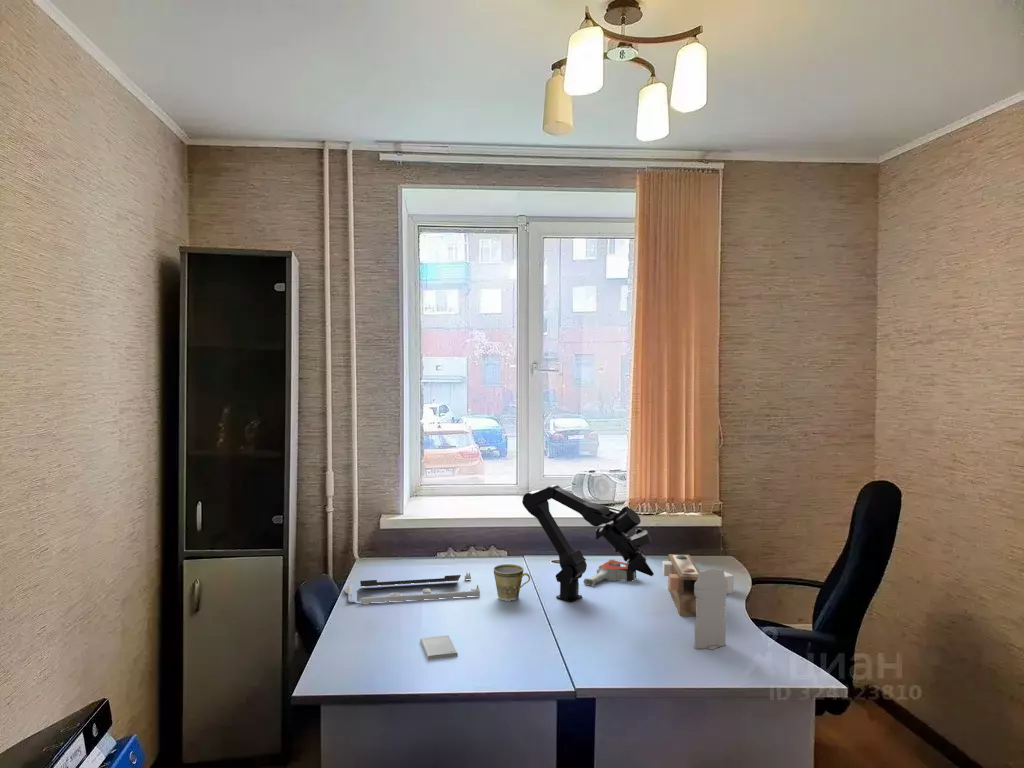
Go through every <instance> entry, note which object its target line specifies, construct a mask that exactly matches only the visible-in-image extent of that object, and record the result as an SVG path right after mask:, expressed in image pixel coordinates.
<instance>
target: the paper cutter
mask: <svg viewBox="0 0 1024 768" xmlns="http://www.w3.org/2000/svg"><path fill="white" fill-rule="evenodd" d="M460 578H461V574H455V575H454V574H452V575H444V577H442V578H441V577H439V578H425V579H408V580H406V579H405V580H391V581H390V580H389V581H378V580H377V579H370V580H369V579H368V580H367V579H366V580H360V581H359V582H360V583H359V584H360V587H361V586H365V587H377V586H378V585H381V586H393V585H394V586H395V584H398V585H410V584H411V583H414V584H427V583H429V582H430V583H445V582H446V581H447V582H458V581H459V580H460ZM466 579H471V580H472V576H471V572H466V574H465V575H464V581H465V580H466ZM447 582H446V583H447ZM353 585H354V584H349V583H348V585H346V586H345V587H344V592H345V593H346V594H347V595H348V602H349V603H352V602H355V601H354V600H352V590H353ZM411 585H412V584H411ZM378 587H379V586H378ZM431 590H432V589H431V588H423V589H422V593H418V594H417V593H416V594H415V593H414V594H402V593H401V592H390V593H389V595H387V596H385V595H384V596H373V597H371V596H370V597H369V596H368V597H360V602H361V603H371V602H385V601H386V602H389V601H406V600H424V599H439V598H453V597H467V596H480V597H481V591H480V588H479V584H476V588H471V589H470V590H466V591H465V590H463V591H449V592H433V593H432V591H431ZM439 600H440V599H439ZM424 601H425V600H424Z"/></svg>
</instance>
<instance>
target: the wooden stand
mask: <svg viewBox="0 0 1024 768" xmlns="http://www.w3.org/2000/svg"><path fill="white" fill-rule="evenodd" d="M668 561H671V562H672V574H678V576H679V591H678V590H670V588H669V576H667V577H668V581H667V583H668V584H667V585H668V586H667V587H668V588H667V590H668V592H670V593H669V595H670V594H671V595H670V597H671V599H672V601H674V602H673V604H674V606H675V608H677V609H676V611H677V610H678V611H677V613H678V615H679V617H697V616H696V597H695V594H694V583H695V582H696V581H697V579H698V576H699V571H700V570H699V568H698V567H697V565H696V563H695V562H694V560H693V558H692V557H691V555H690V554H677V553H675V554H674V553H673V554H672V553H670V554H669V553H668Z"/></svg>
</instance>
